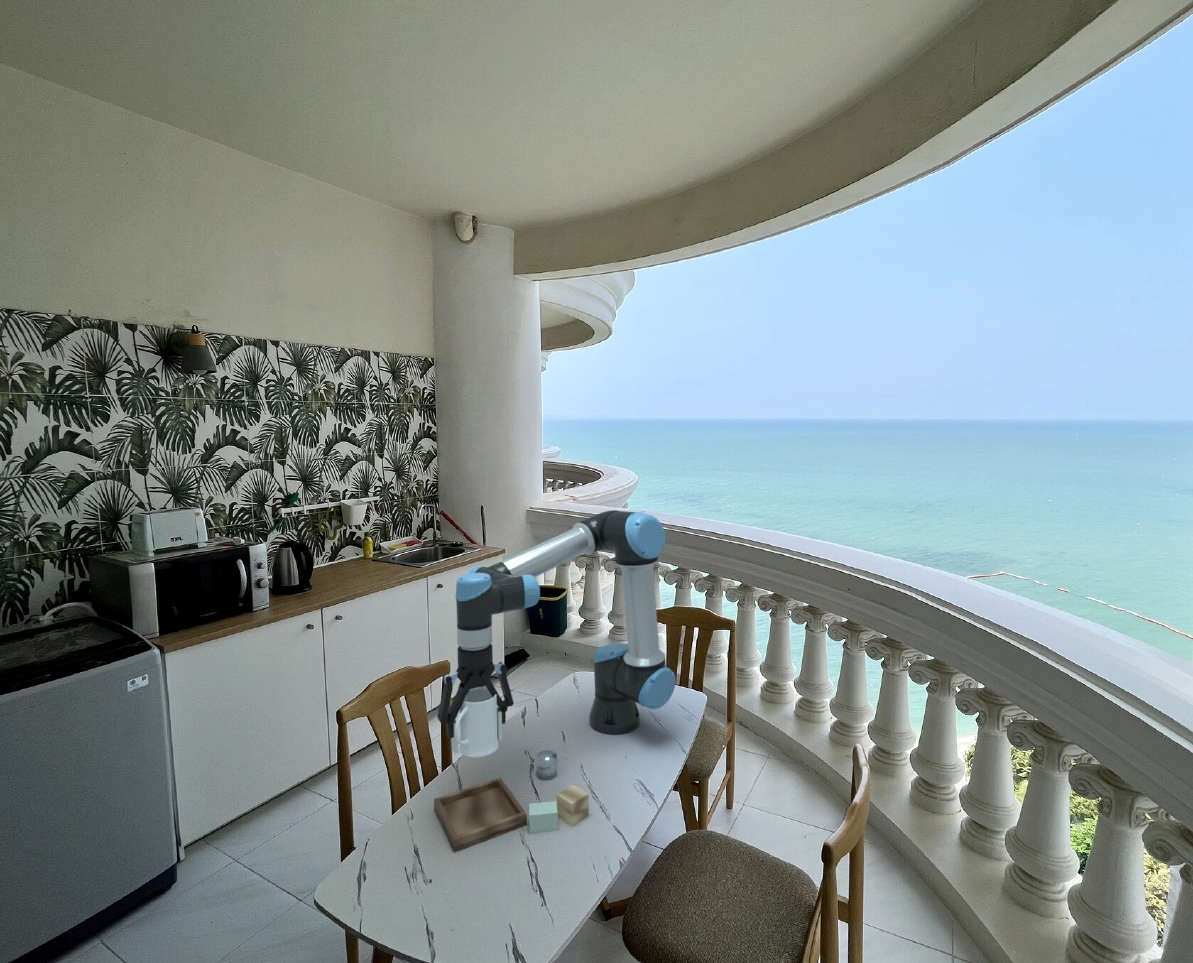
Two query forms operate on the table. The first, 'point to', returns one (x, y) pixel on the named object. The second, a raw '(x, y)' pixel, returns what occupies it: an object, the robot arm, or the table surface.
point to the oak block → (572, 805)
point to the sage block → (543, 816)
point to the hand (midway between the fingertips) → (477, 744)
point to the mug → (478, 724)
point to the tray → (479, 813)
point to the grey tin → (546, 765)
